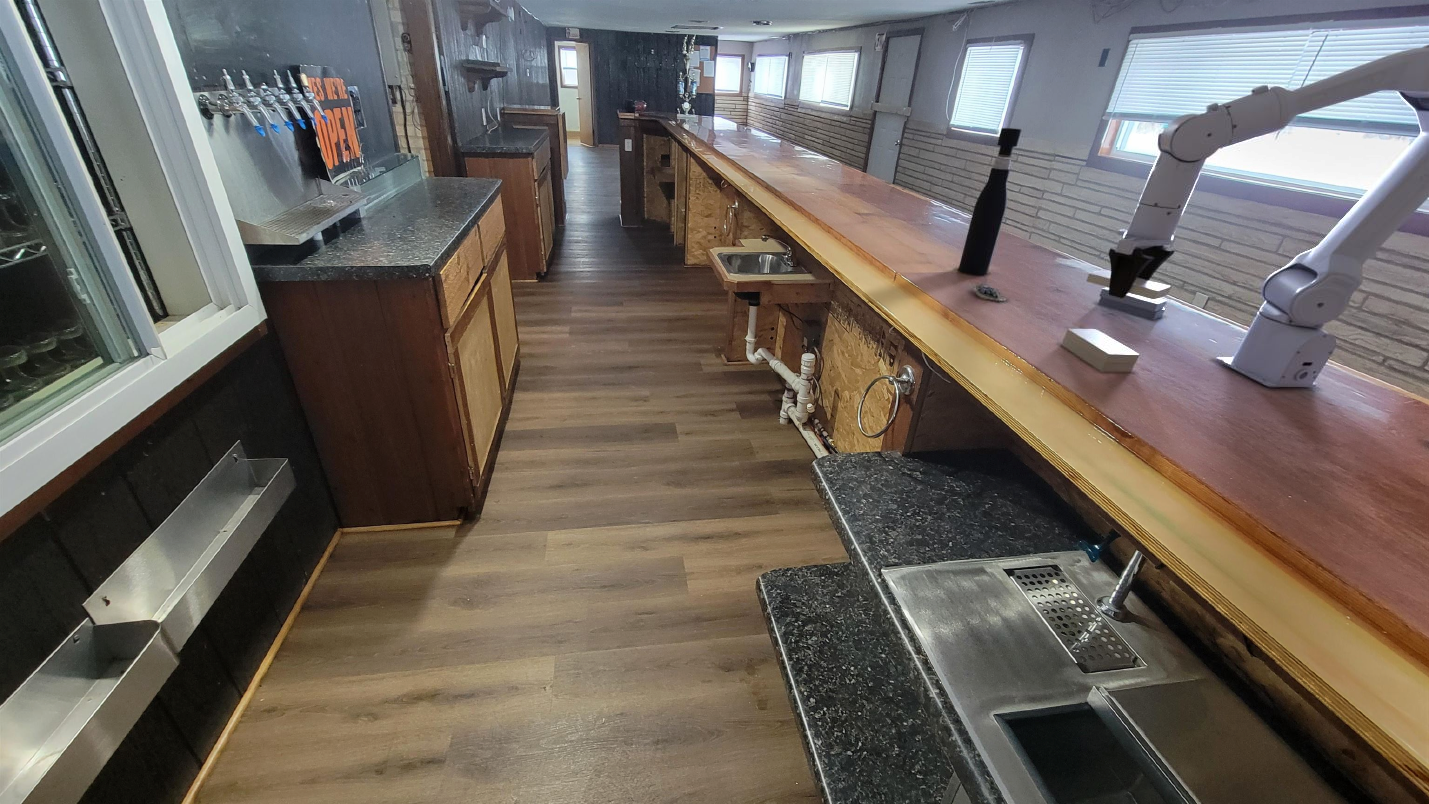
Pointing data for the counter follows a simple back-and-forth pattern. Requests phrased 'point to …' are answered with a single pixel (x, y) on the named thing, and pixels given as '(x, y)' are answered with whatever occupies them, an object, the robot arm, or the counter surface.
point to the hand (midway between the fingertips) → (1124, 293)
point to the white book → (1138, 288)
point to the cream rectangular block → (1099, 350)
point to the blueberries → (988, 293)
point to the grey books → (1134, 304)
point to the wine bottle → (989, 210)
